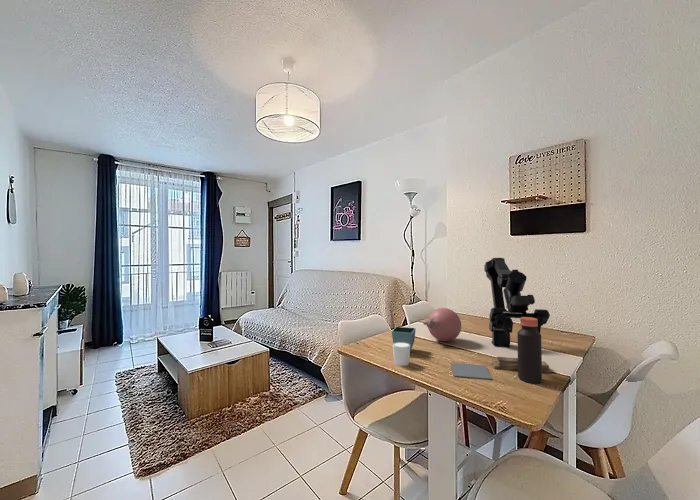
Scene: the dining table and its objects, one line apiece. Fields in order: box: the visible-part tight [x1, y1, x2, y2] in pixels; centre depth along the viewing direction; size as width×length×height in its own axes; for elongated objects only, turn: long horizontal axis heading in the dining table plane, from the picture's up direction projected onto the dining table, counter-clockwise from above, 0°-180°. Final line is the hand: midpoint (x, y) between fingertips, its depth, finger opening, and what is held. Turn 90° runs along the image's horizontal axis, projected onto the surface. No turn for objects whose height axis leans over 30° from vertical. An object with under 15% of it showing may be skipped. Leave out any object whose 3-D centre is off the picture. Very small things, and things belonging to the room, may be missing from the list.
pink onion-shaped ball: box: [422, 307, 462, 342], centre depth 141 cm, size 15×20×15 cm
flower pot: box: [391, 326, 416, 351], centre depth 128 cm, size 9×9×9 cm
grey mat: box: [450, 362, 493, 381], centre depth 105 cm, size 12×12×1 cm
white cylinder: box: [392, 342, 411, 367], centre depth 114 cm, size 7×7×7 cm
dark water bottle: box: [516, 317, 543, 384], centre depth 98 cm, size 7×7×20 cm
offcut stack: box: [491, 356, 552, 374], centre depth 108 cm, size 18×5×3 cm, turn 76°
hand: (524, 336), depth 103 cm, fingers open, 9 cm apart
